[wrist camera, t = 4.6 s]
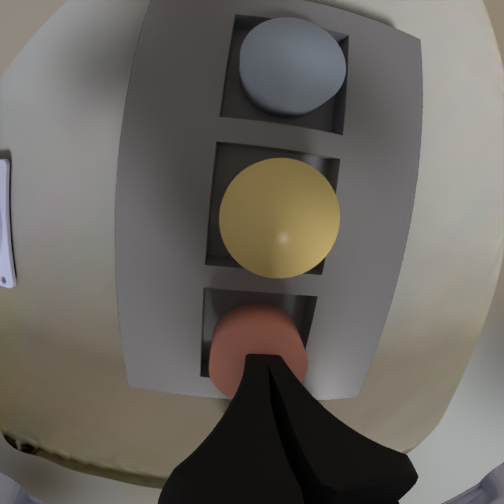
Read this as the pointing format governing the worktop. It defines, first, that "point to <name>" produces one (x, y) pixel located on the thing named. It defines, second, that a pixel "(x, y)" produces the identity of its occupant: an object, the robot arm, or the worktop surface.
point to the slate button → (290, 67)
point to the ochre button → (279, 218)
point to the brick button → (253, 343)
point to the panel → (237, 159)
